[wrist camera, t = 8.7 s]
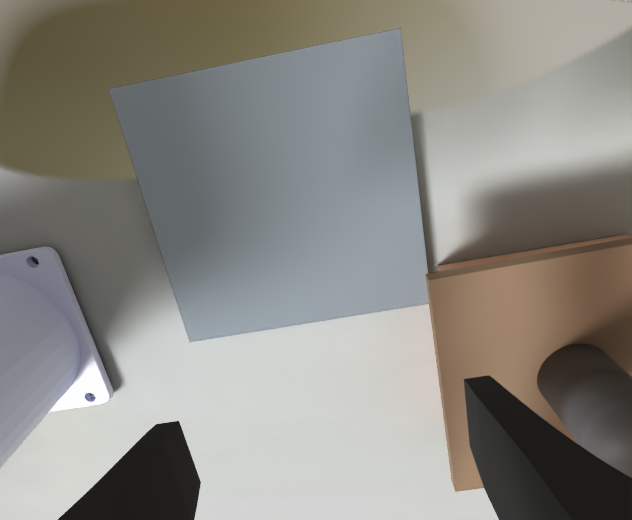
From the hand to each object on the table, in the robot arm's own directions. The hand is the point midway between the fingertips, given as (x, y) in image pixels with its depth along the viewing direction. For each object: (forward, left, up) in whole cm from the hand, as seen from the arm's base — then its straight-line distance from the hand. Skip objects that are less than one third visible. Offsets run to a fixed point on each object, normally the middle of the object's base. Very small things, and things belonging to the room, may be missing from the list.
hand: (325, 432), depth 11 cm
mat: (-1, +4, -9) cm, 10 cm away
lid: (+9, -4, -6) cm, 12 cm away
